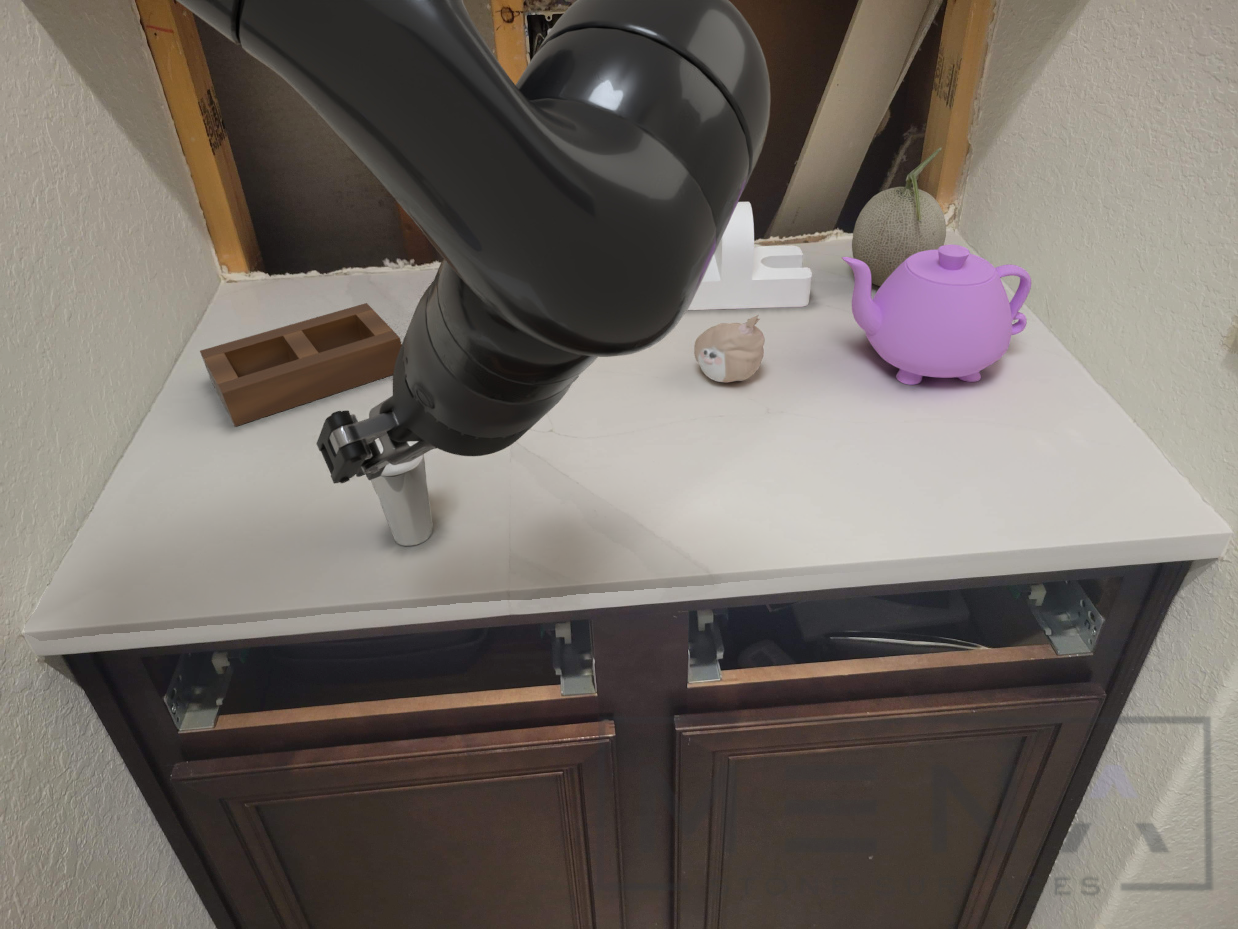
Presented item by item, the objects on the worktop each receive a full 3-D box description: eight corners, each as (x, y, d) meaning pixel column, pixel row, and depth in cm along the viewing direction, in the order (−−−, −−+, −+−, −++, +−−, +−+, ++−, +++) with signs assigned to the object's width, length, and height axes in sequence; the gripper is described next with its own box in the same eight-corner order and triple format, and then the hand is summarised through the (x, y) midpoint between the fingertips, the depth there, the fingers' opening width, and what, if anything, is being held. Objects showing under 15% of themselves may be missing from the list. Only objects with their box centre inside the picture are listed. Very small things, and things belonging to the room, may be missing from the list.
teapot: (842, 403, 81) (861, 286, 73) (810, 333, 92) (824, 225, 84) (1044, 393, 81) (1084, 276, 73) (987, 325, 92) (1017, 217, 85)
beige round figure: (712, 399, 82) (716, 328, 77) (685, 369, 87) (686, 300, 82) (770, 384, 84) (777, 314, 79) (740, 356, 88) (745, 287, 84)
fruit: (856, 305, 97) (877, 178, 88) (839, 264, 106) (856, 145, 97) (946, 304, 96) (976, 176, 87) (921, 263, 106) (946, 144, 96)
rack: (407, 370, 88) (400, 337, 86) (235, 427, 81) (221, 392, 78) (374, 334, 95) (366, 302, 92) (212, 383, 87) (199, 350, 85)
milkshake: (459, 527, 68) (439, 429, 62) (404, 560, 65) (378, 460, 59) (428, 503, 70) (406, 406, 64) (374, 533, 68) (345, 435, 61)
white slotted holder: (655, 276, 105) (654, 192, 98) (795, 272, 105) (805, 187, 98) (658, 311, 97) (658, 222, 91) (810, 306, 97) (821, 217, 90)
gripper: (584, 247, 41) (505, 354, 56) (302, 329, 35) (296, 424, 50) (645, 382, 41) (550, 454, 56) (371, 488, 35) (345, 537, 50)
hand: (430, 440), depth 53 cm, fingers open, 8 cm apart
